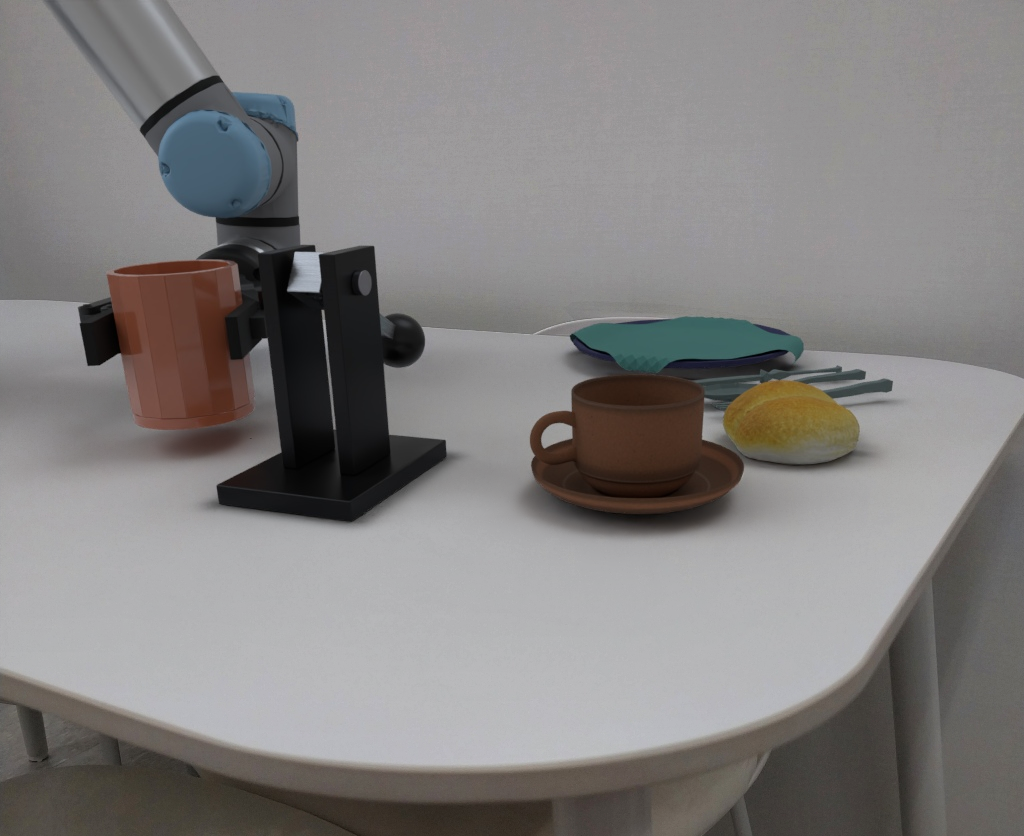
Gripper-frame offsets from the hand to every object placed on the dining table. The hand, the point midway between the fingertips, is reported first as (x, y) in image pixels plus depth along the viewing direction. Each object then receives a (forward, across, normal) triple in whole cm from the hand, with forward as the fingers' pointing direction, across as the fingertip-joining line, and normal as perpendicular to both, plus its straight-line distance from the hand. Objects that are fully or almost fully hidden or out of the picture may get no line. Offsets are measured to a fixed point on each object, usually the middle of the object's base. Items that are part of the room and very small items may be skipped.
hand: (162, 341), depth 61 cm
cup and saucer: (+10, -28, -8) cm, 31 cm away
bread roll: (+2, -40, -8) cm, 41 cm away
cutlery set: (-20, -40, -8) cm, 45 cm away
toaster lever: (+2, -13, 0) cm, 13 cm away
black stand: (+5, -11, -8) cm, 14 cm away
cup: (-5, 0, -6) cm, 8 cm away
